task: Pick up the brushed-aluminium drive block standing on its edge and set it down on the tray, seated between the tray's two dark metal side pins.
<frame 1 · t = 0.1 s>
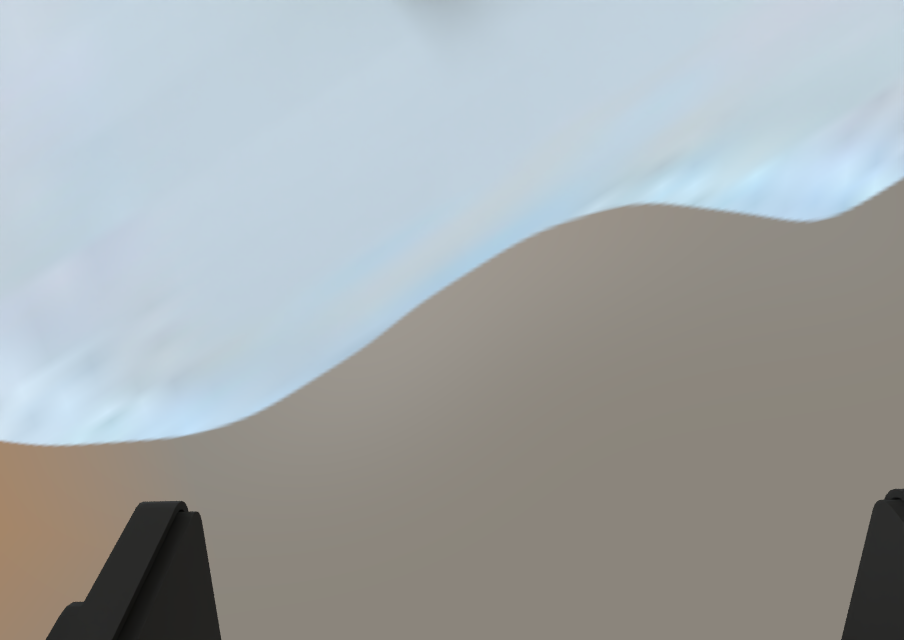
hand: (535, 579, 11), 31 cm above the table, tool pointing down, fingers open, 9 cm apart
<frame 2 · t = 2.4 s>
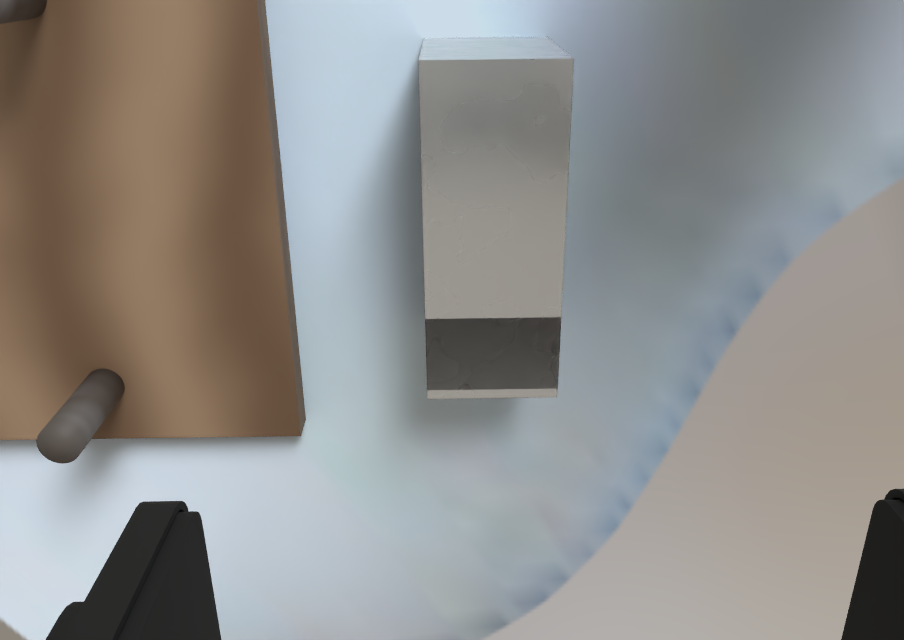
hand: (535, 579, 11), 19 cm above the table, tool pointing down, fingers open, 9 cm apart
pin tray: (82, 199, 28), on the table
drive block: (484, 187, 28), on the table
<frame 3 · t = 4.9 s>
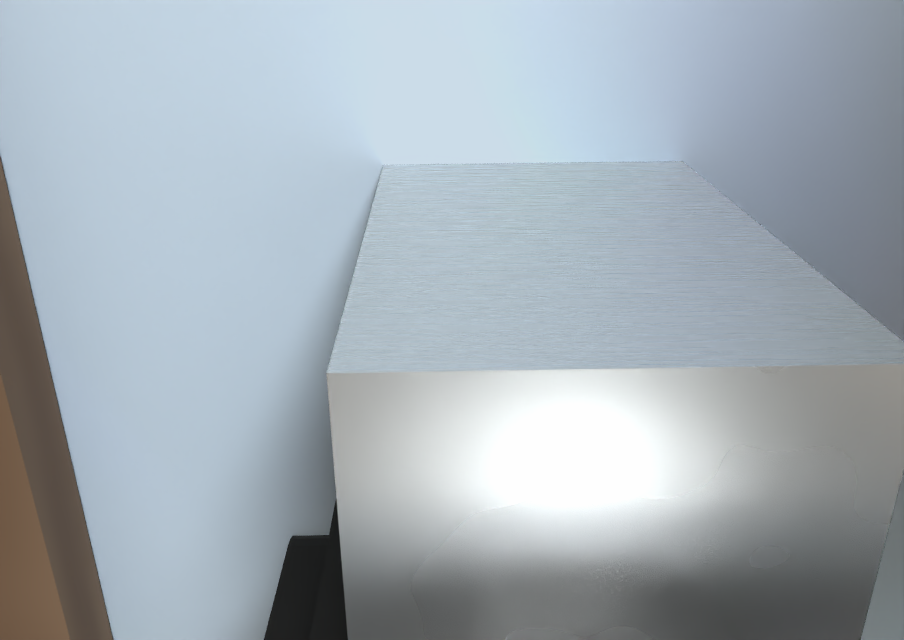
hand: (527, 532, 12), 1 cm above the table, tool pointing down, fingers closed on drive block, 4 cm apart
drive block: (523, 476, 13), on the table, touching gripper
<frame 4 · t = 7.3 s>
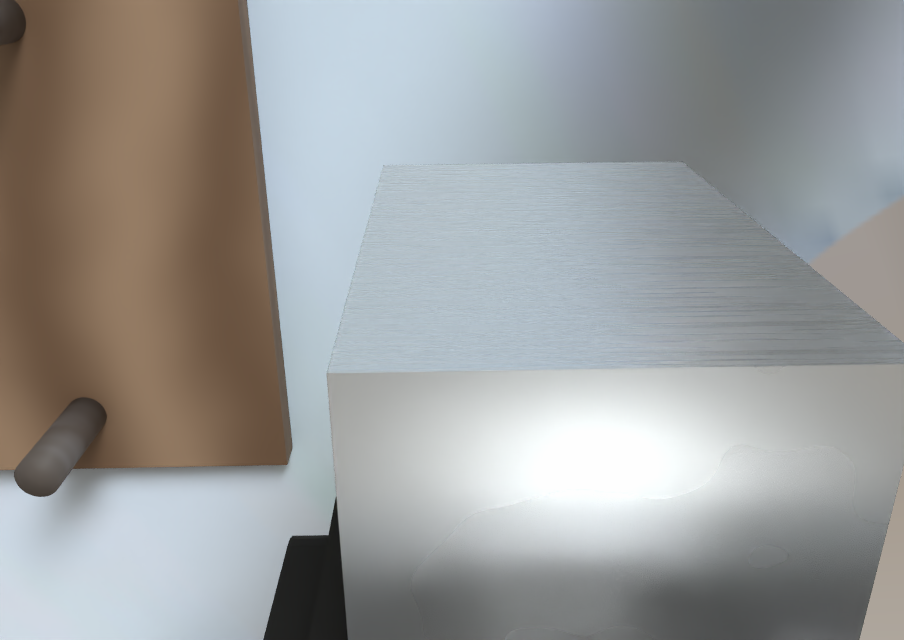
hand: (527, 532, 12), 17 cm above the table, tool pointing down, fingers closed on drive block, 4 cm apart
pin tray: (63, 225, 28), on the table
drive block: (523, 476, 13), point 16 cm above the table, touching gripper
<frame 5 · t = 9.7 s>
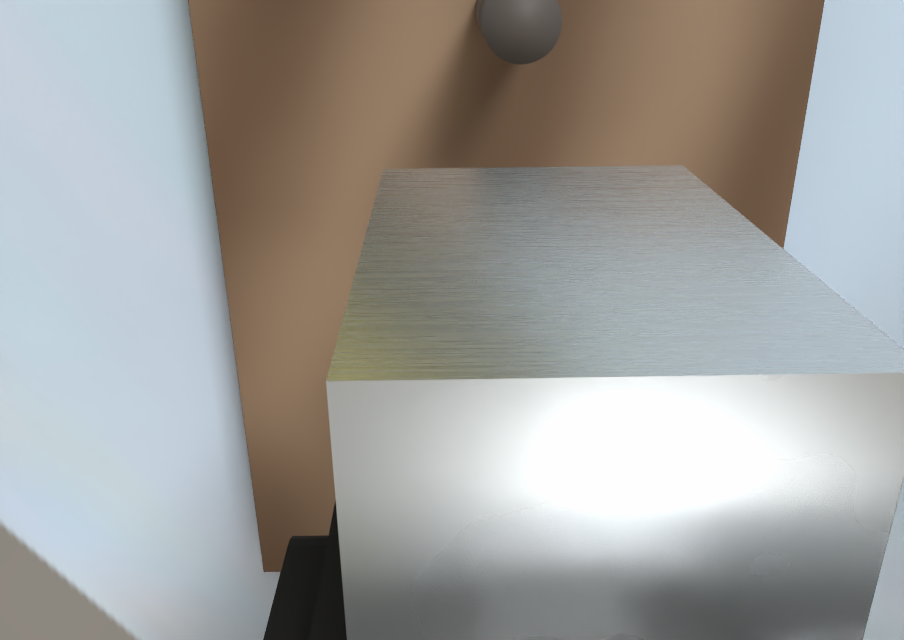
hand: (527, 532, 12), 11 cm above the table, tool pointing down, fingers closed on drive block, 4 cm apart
pin tray: (499, 273, 22), on the table
drive block: (523, 480, 13), point 10 cm above the table, touching gripper
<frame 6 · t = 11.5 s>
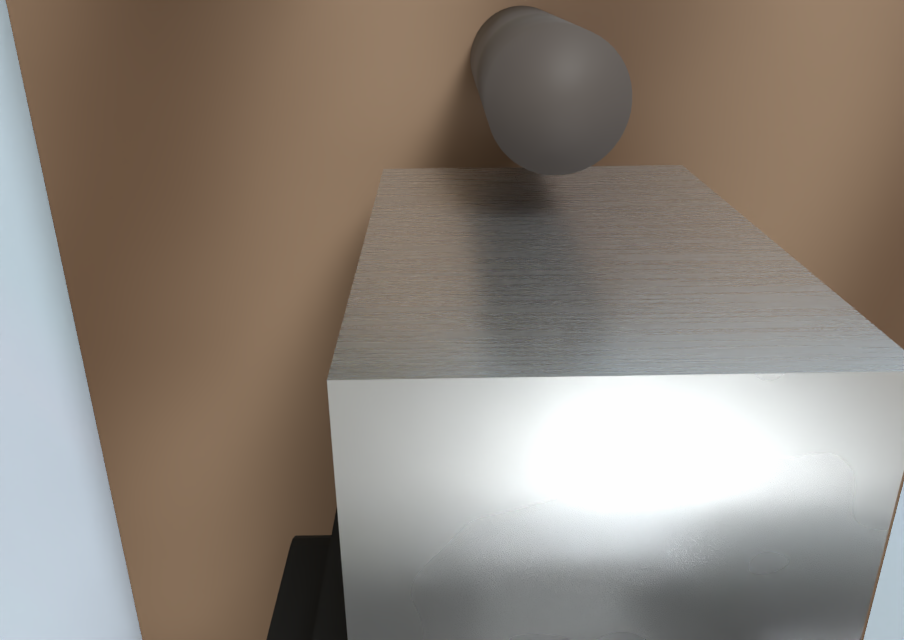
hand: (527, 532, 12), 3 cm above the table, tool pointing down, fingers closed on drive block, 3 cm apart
pin tray: (505, 425, 15), on the table
drive block: (523, 479, 13), point 2 cm above the table, touching gripper
when the fingers open (3 cm above the table, at t = 11.7 s): drive block drops 1 cm, resting on pin tray.
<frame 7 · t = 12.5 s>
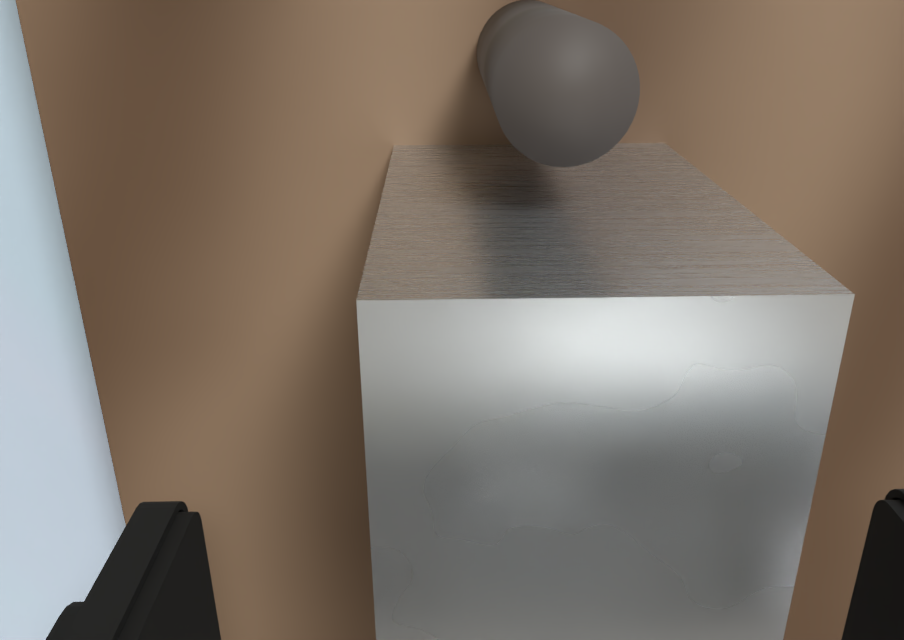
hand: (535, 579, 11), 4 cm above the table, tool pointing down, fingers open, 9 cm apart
pin tray: (510, 419, 15), on the table
drive block: (520, 434, 14), point 1 cm above the table, touching pin tray
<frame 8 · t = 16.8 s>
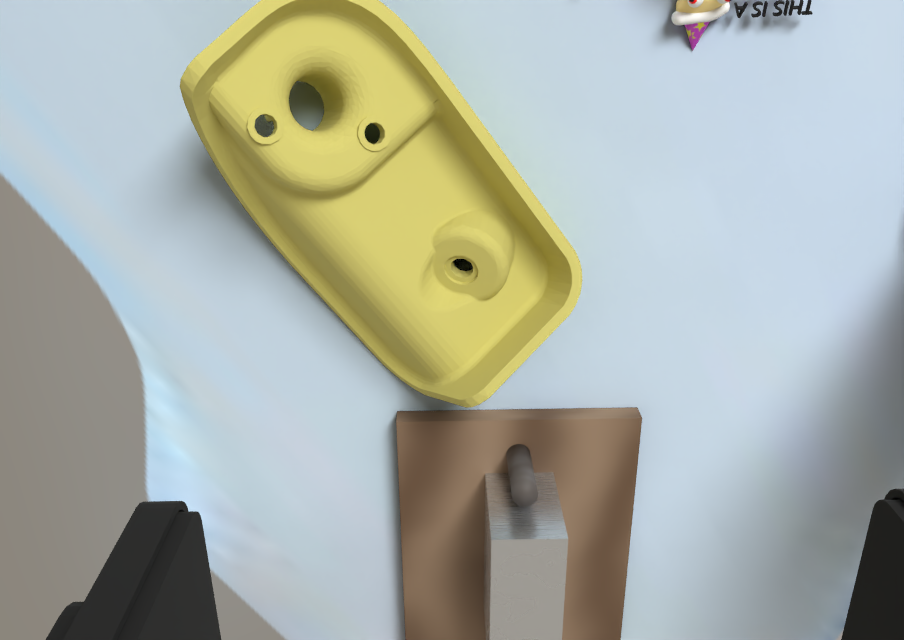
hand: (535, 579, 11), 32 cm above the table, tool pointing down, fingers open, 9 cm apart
pin tray: (514, 534, 51), on the table
drive block: (517, 541, 50), point 1 cm above the table, touching pin tray
plastic component: (395, 186, 42), on the table
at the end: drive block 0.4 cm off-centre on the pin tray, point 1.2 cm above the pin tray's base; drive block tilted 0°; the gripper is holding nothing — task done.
